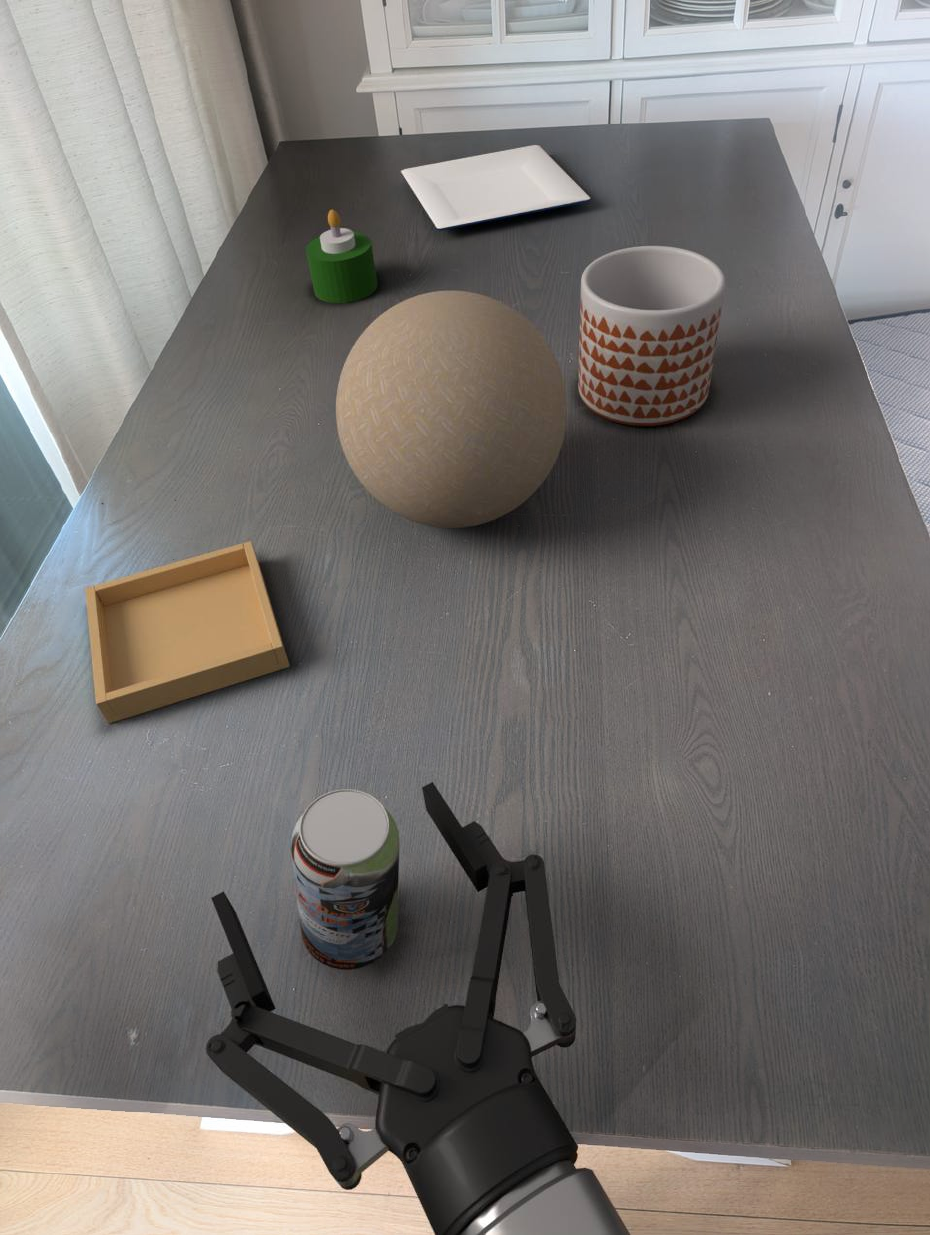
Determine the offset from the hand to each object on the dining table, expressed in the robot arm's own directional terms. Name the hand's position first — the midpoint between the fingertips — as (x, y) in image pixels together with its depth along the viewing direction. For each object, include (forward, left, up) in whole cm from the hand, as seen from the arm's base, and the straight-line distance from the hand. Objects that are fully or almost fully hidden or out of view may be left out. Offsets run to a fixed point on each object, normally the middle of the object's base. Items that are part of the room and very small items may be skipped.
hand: (330, 847), depth 54 cm
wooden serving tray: (-7, +28, -7) cm, 29 cm away
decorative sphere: (+20, +35, -7) cm, 41 cm away
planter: (+44, +44, -7) cm, 63 cm away
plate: (+48, +99, -7) cm, 110 cm away
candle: (+21, +82, -7) cm, 85 cm away
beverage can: (0, -2, -7) cm, 7 cm away
